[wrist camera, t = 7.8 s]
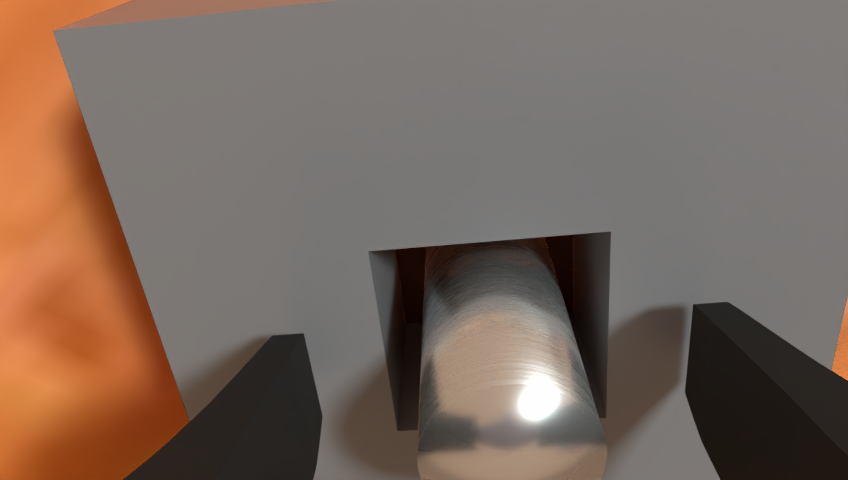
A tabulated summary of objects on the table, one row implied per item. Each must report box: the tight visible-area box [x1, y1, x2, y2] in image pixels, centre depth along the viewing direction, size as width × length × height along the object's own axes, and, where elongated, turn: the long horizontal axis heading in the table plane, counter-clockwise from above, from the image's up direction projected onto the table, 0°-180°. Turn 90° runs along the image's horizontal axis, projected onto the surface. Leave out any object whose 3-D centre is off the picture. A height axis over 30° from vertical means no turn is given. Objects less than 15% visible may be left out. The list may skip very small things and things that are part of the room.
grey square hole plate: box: [53, 0, 848, 480], centre depth 15 cm, size 13×13×4 cm
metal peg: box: [417, 237, 607, 480], centre depth 14 cm, size 3×3×7 cm
